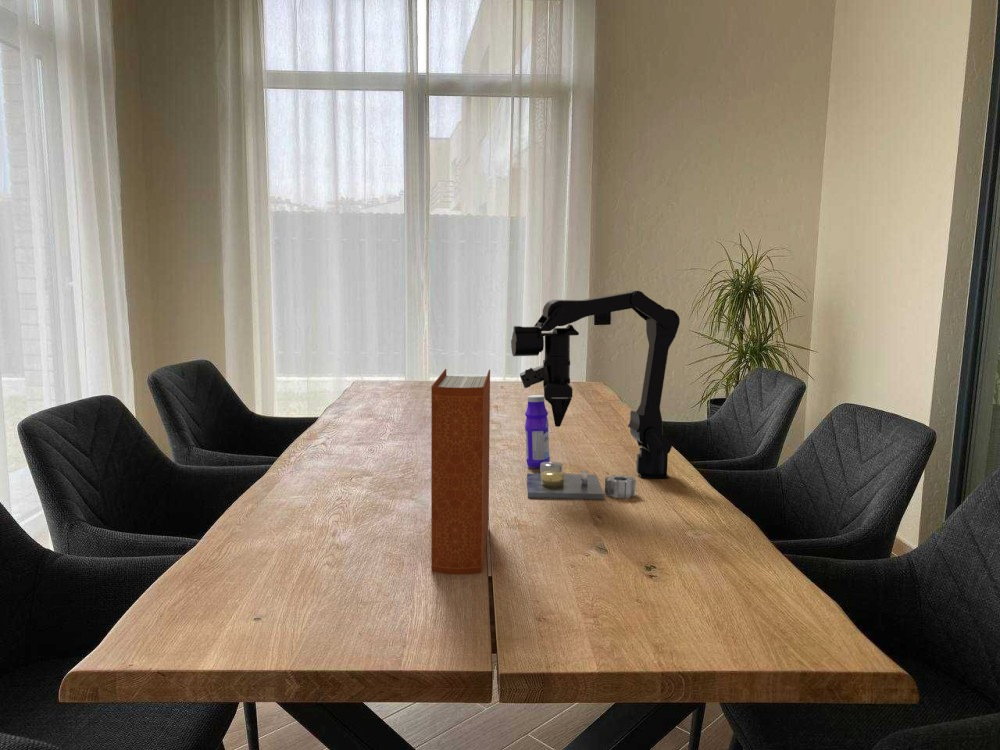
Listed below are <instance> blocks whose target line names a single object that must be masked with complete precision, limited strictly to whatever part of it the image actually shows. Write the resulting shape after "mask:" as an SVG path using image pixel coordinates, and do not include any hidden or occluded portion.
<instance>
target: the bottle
mask: <svg viewBox="0 0 1000 750" xmlns="http://www.w3.org/2000/svg"><path fill="white" fill-rule="evenodd" d="M524 415H525V417H526V420H525V423H524V424H525V425H524V426H525V451H526V452H525V453H526V455H525V457H526V459H525V460H526V465H527V467H529V468H533V469H535V468H537V469H540V464H541V463H542V462H551V461H550V460H551V457H550V442H549V441H550V439H549V427H550V426H549V419H548V415H549V412H548V410H547V408H546V404H545V398H544V394H532V395H528V396H527V408H526V411H525V413H524Z"/></svg>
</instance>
